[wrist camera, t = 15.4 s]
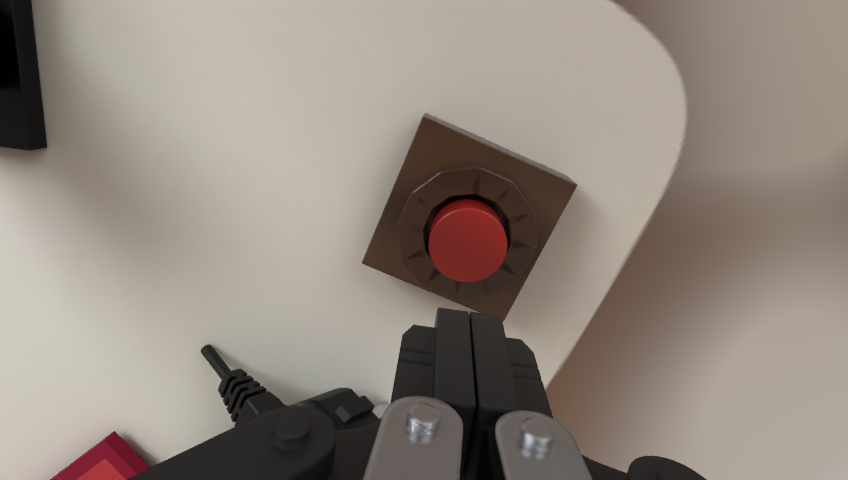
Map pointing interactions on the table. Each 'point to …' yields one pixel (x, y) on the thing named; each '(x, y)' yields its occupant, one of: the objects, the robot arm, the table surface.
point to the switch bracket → (19, 79)
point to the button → (467, 241)
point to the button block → (467, 179)
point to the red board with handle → (105, 462)
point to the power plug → (254, 401)
